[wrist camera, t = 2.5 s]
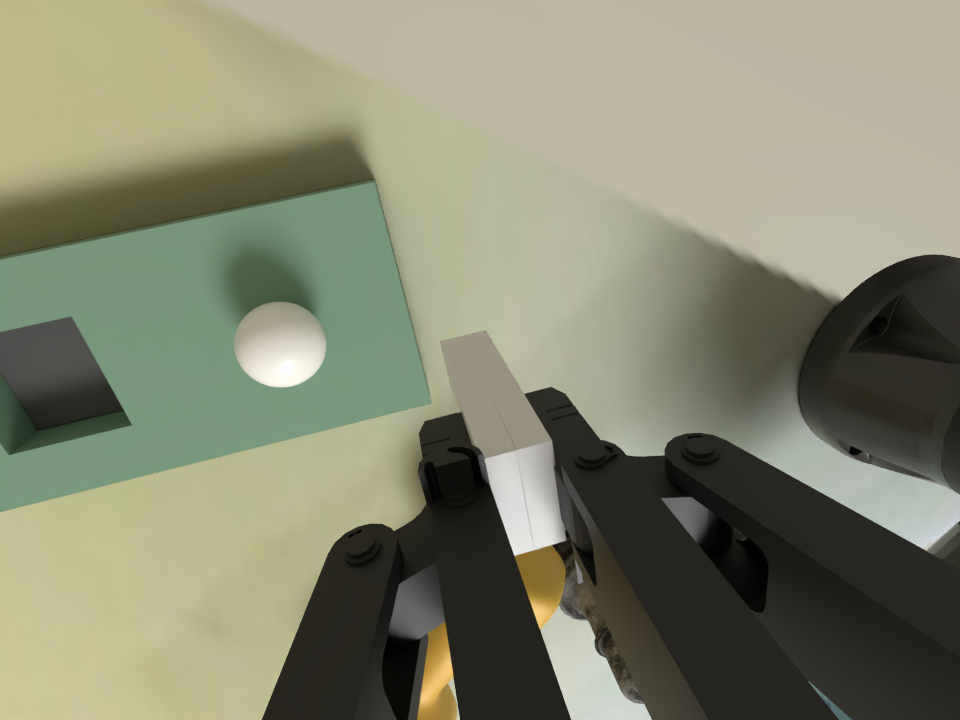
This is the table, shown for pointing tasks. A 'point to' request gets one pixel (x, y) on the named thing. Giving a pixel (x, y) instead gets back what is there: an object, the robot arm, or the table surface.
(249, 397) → the green
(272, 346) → the ball
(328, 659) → the robot arm
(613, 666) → the dark grey chess piece
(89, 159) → the table surface
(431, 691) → the dumbbell
